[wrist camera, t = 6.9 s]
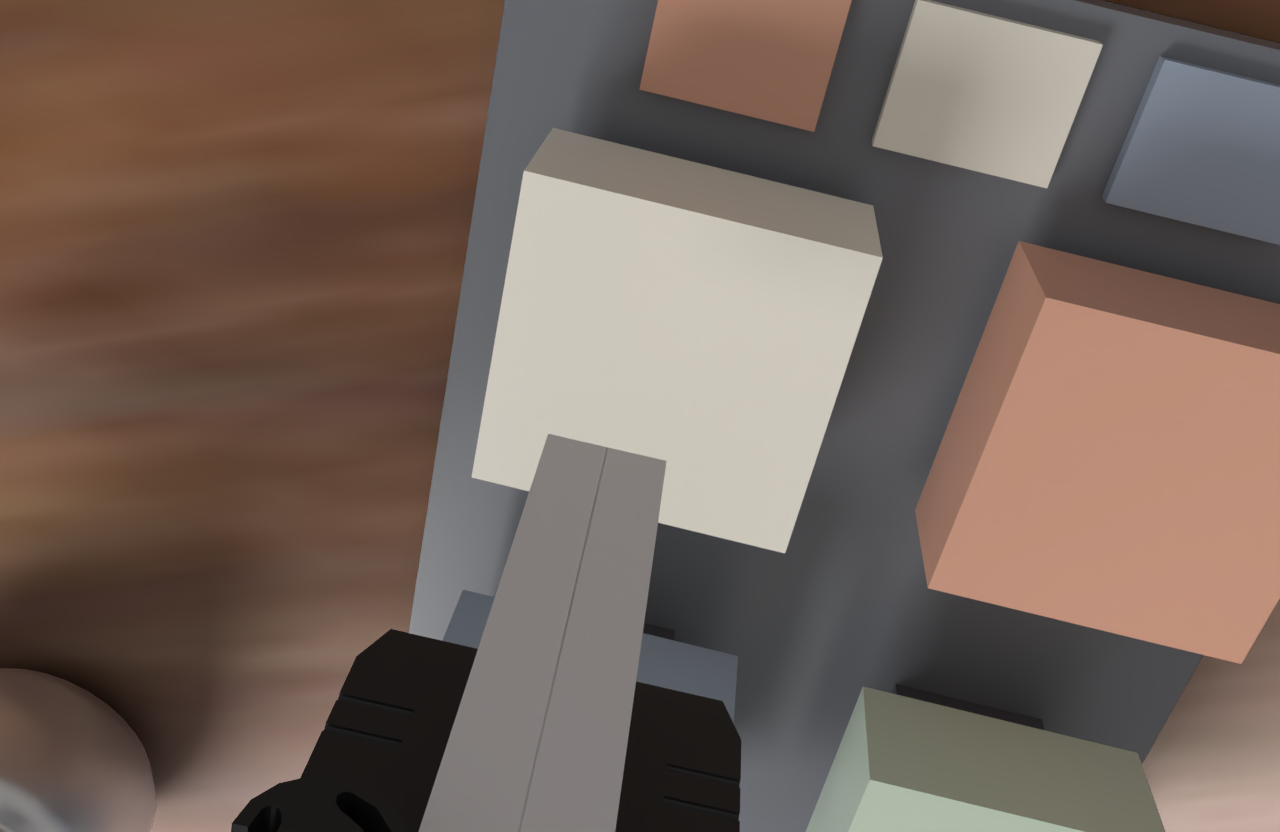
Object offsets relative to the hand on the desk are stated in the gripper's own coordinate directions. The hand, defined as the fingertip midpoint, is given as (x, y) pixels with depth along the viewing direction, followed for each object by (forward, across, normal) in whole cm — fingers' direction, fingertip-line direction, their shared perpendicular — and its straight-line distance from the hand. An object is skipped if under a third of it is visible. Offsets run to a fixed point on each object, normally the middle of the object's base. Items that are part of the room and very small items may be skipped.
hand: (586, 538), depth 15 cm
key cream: (+7, +1, 0) cm, 7 cm away
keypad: (+9, +5, -4) cm, 11 cm away
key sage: (+6, +9, -9) cm, 14 cm away
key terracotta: (+7, +9, 0) cm, 11 cm away
